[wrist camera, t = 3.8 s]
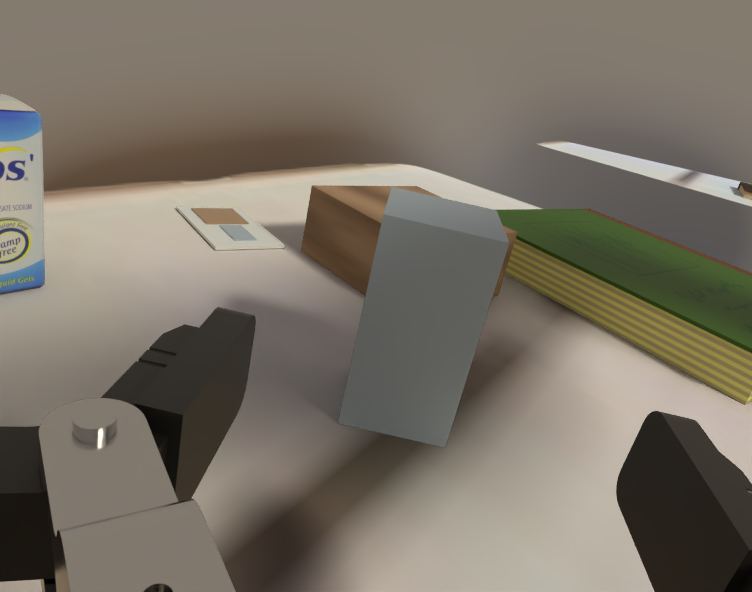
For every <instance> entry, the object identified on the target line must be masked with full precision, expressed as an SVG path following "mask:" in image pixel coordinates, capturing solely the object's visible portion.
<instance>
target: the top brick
mask: <svg viewBox="0 0 752 592" xmlns="http://www.w3.org/2000/svg"><path fill="white" fill-rule="evenodd" d="M508 246H509V241H508V238H507V236H506V233H505V230H504V228H503V225H502V223H501V220H500V218H499V215H498V212H497V210H492V209H488V208H483V207H479V206H475V205H470V204H466V203H461V202H457V201H453V200H448V199H444V198H439V197H435V196H431V195H426V194H422V193H417V192H413V191H409V190H404V189H400V188H395V187H392V188H391V192H390V195H389V198H388V201H387V204H386V208H385V211H384V214H383V218H382V223H381V228H380V232H379V237H378V241H377V246H376V251H375V255H374V260H373V264H372V269H371V273H370V278H369V283H368V287H367V292H366V296H365V301H364V306H363V310H362V315H361V319H360V324H359V328H358V333H357V338H356V342H355V347H354V351H353V356H352V361H351V365H350V370H349V374H348V379H347V383H346V388H345V393H344V397H343V402H342V406H341V411H340V416H339V420H338V423H339V424H343V425H348V426H352V427H356V428H361V429H365V430H369V431H374V432H378V433H383V434H387V435H391V436H396V437H400V438H404V439H409V440H413V441H417V442H422V443H426V444H431V445H435V446H439V447H444V448H445V446H446V443H447V440H448V437H449V433H450V430H451V427H452V424H453V421H454V418H455V414H456V411H457V408H458V405H459V402H460V398H461V395H462V392H463V389H464V386H465V383H466V379H467V376H468V373H469V370H470V367H471V363H472V360H473V357H474V354H475V351H476V347H477V344H478V341H479V338H480V335H481V332H482V328H483V325H484V322H485V319H486V316H487V312H488V309H489V306H490V303H491V300H492V297H493V293H494V290H495V287H496V284H497V281H498V277H499V274H500V271H501V268H502V265H503V261H504V258H505V255H506V252H507V249H508Z"/></svg>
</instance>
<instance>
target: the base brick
mask: <svg viewBox="0 0 752 592" xmlns="http://www.w3.org/2000/svg"><path fill="white" fill-rule="evenodd" d="M392 187H395V188H400V189H404V190H409V191H413V192H417V193H422V194H426V195H431V196H435V197H439V196H437V195H435V194H433V193H430V192H428V191H426V190H424V189H422V188H419V187H417V186H312V188H311V194H310V201H309V207H308V213H307V219H306V225H305V231H304V237H303V243H302V249H301V251H302V252H303V253H305V254H306V255H308V256H309V257H311V258H312V259H314V260H315V261H316V262H318V263H319V264H321V265H322V266H324V267H325V268H327V269H328V270H329V271H331V272H332V273H334V274H335V275H337V276H338V277H340V278H341V279H342V280H344V281H345V282H347V283H348V284H350V285H351V286H352V287H354V288H355V289H357V290H358V291H360V292H361V293H363V294H364V295H365V296H366V292H367V287H368V283H369V278H370V273H371V269H372V264H373V260H374V255H375V251H376V246H377V241H378V237H379V232H380V228H381V223H382V218H383V214H384V211H385V208H386V204H387V201H388V198H389V195H390V192H391V188H392ZM439 198H441V197H439ZM503 228H504V230H505V233H506V236H507V238H508V241H509V246H508V249H507V252H506V255H505V258H504V261H503V265H502V268H501V271H500V274H499V277H498V281H497V284H496V287H495V290H494V293H493V296H497V295H498V293H499V290H500V287H501V284H502V280H503V277H504V274H505V271H506V268H507V265H508V262H509V258H510V255H511V252H512V249H513V246H514V243H515V240H516V236H517V233H518V232H516V231H514V230H512V229H510V228H508V227H505V226H503Z"/></svg>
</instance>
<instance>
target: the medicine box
mask: <svg viewBox="0 0 752 592" xmlns="http://www.w3.org/2000/svg"><path fill="white" fill-rule="evenodd" d="M42 153H43V152H42V119H41V115H40V114H38V113H37V112H36V110H34V109H32V108H31V107H29V106H28V105H26V104H24V103H22V102H20V101H19V100H17V99H15V98H13V97H10V96H8V95H4V94H0V294H4V293H10V292H16V291H21V290H27V289H33V288H38V287H41V286H42V285H44V283H45V256H44V208H43V154H42Z"/></svg>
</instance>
